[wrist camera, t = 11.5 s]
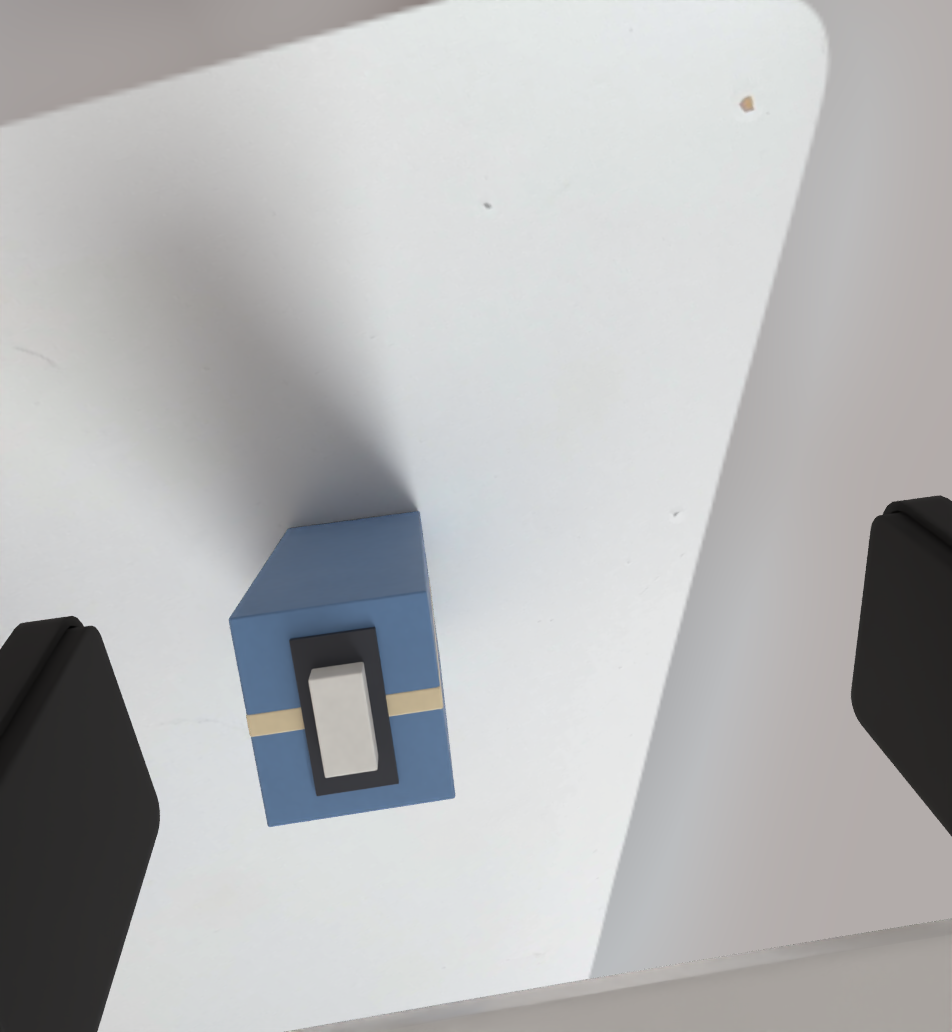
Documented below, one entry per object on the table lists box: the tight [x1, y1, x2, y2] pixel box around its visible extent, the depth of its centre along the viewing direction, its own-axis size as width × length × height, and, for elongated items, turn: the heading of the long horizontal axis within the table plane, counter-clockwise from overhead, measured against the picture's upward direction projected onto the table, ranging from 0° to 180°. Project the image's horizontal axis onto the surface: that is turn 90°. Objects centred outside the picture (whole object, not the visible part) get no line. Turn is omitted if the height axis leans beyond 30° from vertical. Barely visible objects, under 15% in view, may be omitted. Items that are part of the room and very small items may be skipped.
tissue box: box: [229, 511, 455, 827], centre depth 32 cm, size 14×6×7 cm
